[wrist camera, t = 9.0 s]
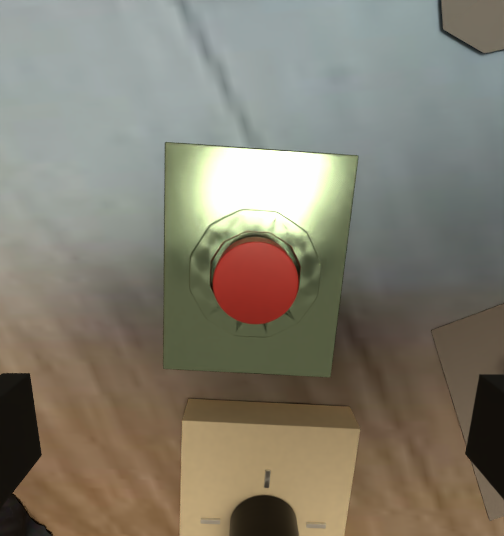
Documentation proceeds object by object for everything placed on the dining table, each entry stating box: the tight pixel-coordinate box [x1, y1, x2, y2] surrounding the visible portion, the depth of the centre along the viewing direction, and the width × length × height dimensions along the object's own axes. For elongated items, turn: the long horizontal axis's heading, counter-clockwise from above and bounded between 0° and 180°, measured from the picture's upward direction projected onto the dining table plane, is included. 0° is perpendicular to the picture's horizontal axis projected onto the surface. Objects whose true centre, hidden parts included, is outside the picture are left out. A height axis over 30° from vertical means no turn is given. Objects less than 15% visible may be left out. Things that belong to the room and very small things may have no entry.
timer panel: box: [180, 399, 360, 536], centre depth 25 cm, size 16×12×3 cm
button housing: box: [163, 142, 358, 377], centre depth 21 cm, size 14×11×4 cm
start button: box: [213, 237, 299, 324], centre depth 18 cm, size 4×4×2 cm
